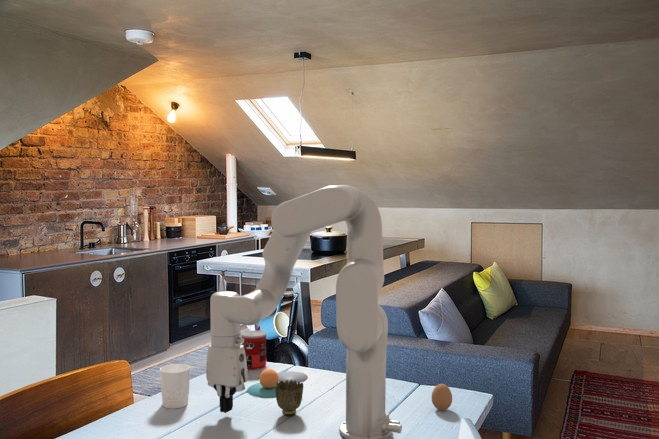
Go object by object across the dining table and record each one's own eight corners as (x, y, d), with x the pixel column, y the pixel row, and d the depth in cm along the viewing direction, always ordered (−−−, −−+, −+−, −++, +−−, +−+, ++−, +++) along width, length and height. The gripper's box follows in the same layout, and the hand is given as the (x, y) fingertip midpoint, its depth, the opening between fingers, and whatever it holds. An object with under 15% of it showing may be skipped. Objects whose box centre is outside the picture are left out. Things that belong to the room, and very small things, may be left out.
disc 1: (300, 386, 179) (300, 385, 179) (278, 400, 167) (278, 399, 167) (262, 379, 185) (262, 379, 185) (238, 393, 173) (238, 392, 173)
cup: (299, 421, 153) (299, 390, 153) (271, 418, 155) (271, 388, 154) (306, 410, 160) (306, 380, 160) (279, 408, 162) (279, 378, 161)
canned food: (238, 364, 200) (238, 331, 199) (261, 361, 203) (261, 329, 203) (245, 371, 193) (245, 337, 192) (269, 368, 196) (269, 334, 196)
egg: (428, 407, 163) (428, 381, 162) (446, 405, 164) (447, 380, 164) (436, 414, 158) (436, 388, 157) (455, 412, 159) (456, 386, 158)
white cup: (154, 406, 163) (153, 369, 162) (174, 397, 170) (173, 362, 169) (176, 411, 159) (176, 374, 158) (196, 402, 166) (196, 366, 165)
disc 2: (313, 374, 190) (313, 374, 190) (297, 385, 180) (297, 385, 180) (282, 370, 194) (282, 369, 194) (265, 380, 184) (265, 379, 184)
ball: (273, 379, 173) (275, 394, 175) (280, 366, 177) (282, 380, 180) (254, 376, 174) (257, 391, 177) (262, 363, 179) (265, 378, 182)
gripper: (258, 340, 155) (258, 410, 156) (210, 333, 161) (211, 401, 163) (242, 347, 148) (242, 420, 149) (192, 340, 155) (193, 411, 156)
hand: (226, 410), depth 156 cm, fingers closed
